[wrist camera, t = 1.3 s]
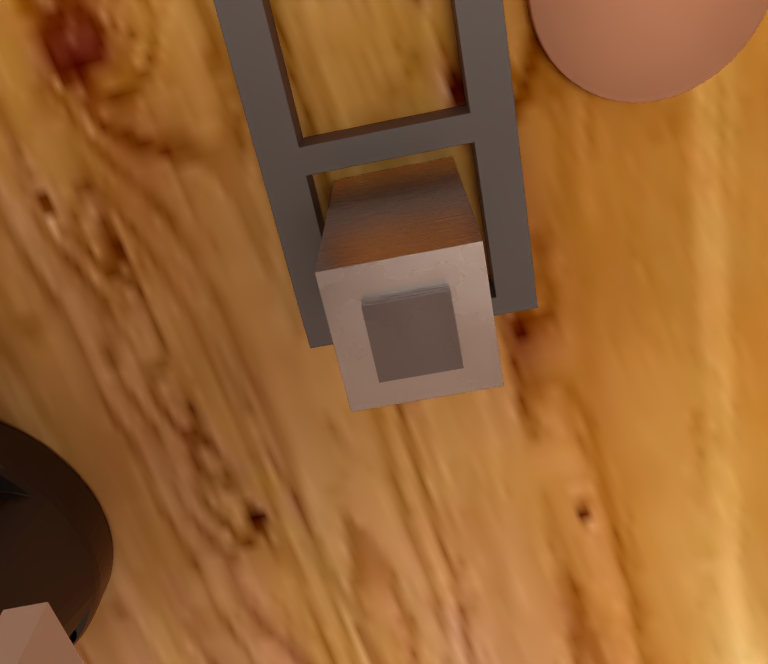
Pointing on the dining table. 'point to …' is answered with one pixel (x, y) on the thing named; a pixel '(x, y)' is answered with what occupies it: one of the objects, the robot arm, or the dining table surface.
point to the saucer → (643, 42)
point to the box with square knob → (407, 287)
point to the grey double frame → (386, 148)
